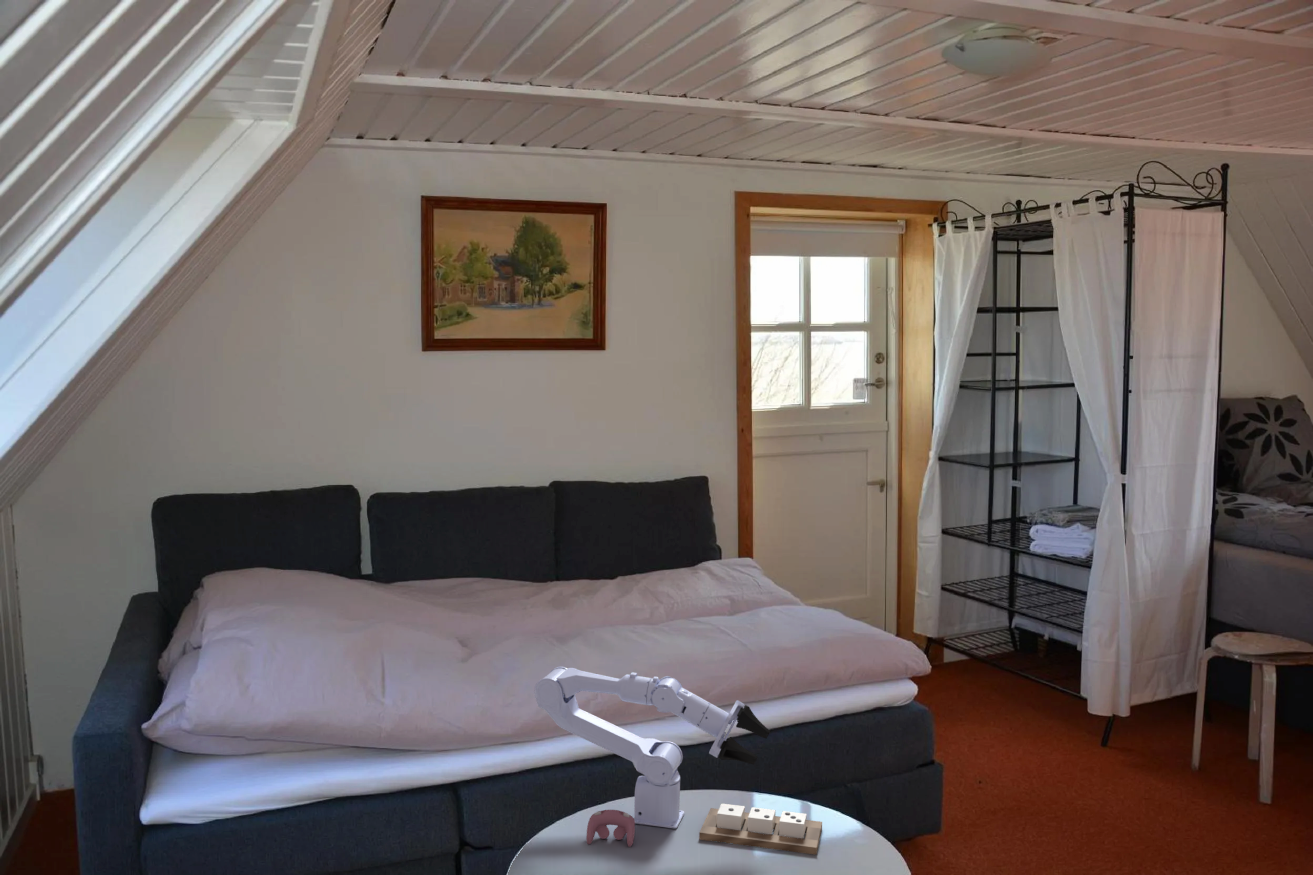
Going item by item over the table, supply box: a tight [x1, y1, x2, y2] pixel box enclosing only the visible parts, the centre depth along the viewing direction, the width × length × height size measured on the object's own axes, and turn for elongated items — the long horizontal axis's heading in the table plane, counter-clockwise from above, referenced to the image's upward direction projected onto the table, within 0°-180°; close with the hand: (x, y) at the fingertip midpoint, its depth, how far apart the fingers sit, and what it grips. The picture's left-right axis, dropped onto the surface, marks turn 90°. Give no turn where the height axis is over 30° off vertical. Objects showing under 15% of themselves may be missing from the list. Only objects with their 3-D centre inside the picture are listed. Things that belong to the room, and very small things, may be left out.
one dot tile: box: [717, 803, 746, 831], centre depth 223 cm, size 5×5×3 cm
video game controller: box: [586, 809, 636, 848], centre depth 218 cm, size 10×5×7 cm, turn 85°
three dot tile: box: [779, 810, 807, 839], centre depth 219 cm, size 5×5×3 cm
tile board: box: [698, 807, 823, 856], centre depth 221 cm, size 24×12×2 cm, turn 76°
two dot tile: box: [748, 806, 776, 835], centre depth 221 cm, size 5×5×3 cm
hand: (762, 747), depth 220 cm, fingers open, 7 cm apart
